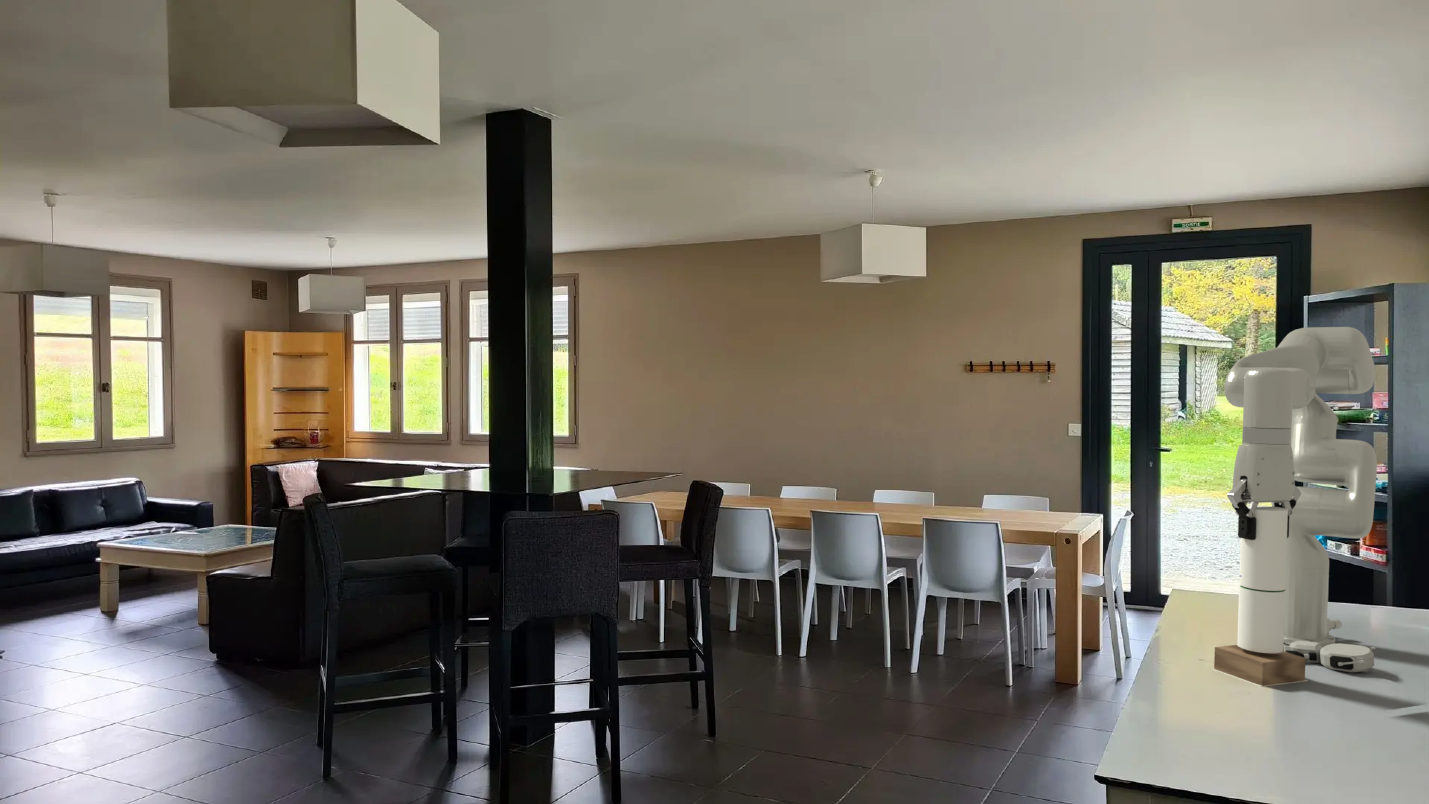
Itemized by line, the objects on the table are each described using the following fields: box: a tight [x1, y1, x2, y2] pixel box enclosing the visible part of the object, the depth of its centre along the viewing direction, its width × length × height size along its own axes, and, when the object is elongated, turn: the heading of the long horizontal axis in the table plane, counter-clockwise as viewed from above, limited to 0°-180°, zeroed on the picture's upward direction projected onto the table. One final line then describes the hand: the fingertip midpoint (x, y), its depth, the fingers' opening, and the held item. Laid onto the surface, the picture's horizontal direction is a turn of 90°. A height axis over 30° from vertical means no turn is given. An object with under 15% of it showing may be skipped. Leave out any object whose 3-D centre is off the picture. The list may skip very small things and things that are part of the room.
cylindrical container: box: [1236, 504, 1288, 653], centre depth 173 cm, size 7×7×25 cm
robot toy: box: [1283, 641, 1377, 673], centre depth 181 cm, size 12×4×15 cm
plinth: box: [1213, 644, 1306, 687], centre depth 173 cm, size 10×10×4 cm
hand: (1263, 537), depth 172 cm, fingers closed on cylindrical container, 7 cm apart
